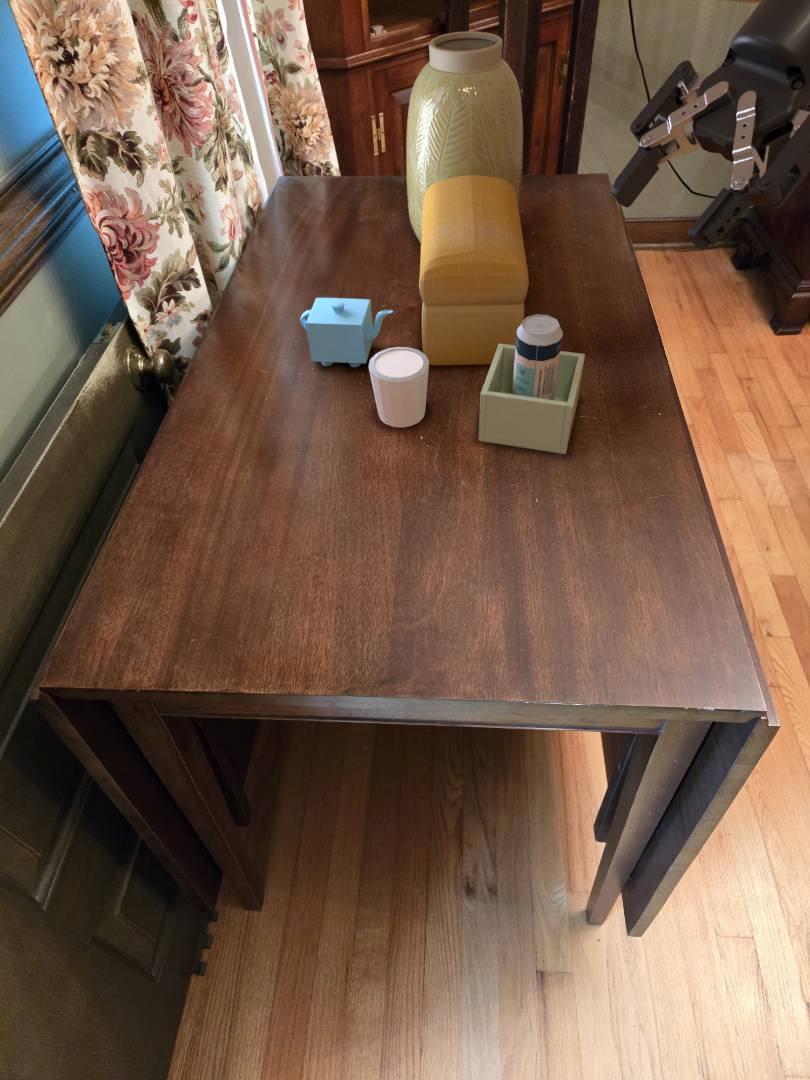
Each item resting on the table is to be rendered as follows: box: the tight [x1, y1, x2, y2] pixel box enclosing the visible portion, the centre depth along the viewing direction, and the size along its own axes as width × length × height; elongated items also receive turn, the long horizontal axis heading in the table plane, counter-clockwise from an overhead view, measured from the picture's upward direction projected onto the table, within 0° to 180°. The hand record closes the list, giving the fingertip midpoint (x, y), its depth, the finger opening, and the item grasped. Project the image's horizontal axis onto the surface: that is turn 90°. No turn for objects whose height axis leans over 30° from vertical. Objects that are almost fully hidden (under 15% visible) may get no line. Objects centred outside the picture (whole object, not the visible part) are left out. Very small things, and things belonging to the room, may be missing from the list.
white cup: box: [368, 346, 430, 428], centre depth 84 cm, size 7×7×7 cm
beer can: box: [512, 314, 564, 400], centre depth 80 cm, size 5×5×12 cm
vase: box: [405, 30, 524, 245], centre depth 105 cm, size 17×17×27 cm
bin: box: [478, 343, 586, 455], centre depth 82 cm, size 10×10×7 cm
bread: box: [418, 175, 530, 366], centre depth 95 cm, size 24×13×15 cm, turn 178°
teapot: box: [300, 297, 394, 368], centre depth 93 cm, size 12×6×8 cm, turn 82°
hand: (655, 221), depth 55 cm, fingers open, 8 cm apart
